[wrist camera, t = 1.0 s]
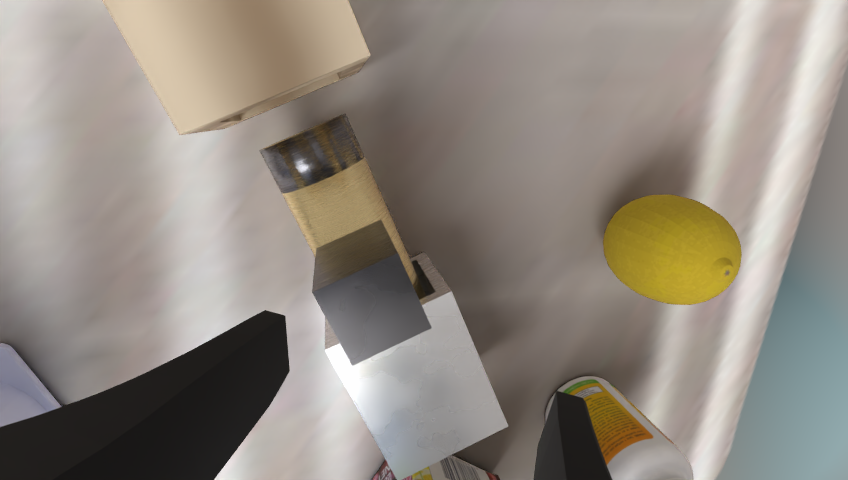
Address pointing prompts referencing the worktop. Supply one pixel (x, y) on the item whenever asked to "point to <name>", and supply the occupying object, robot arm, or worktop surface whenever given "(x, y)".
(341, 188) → the tube
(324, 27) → the socket block
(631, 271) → the lemon
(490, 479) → the snack box
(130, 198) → the worktop surface
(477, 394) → the sleeve
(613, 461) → the supplement bottle
